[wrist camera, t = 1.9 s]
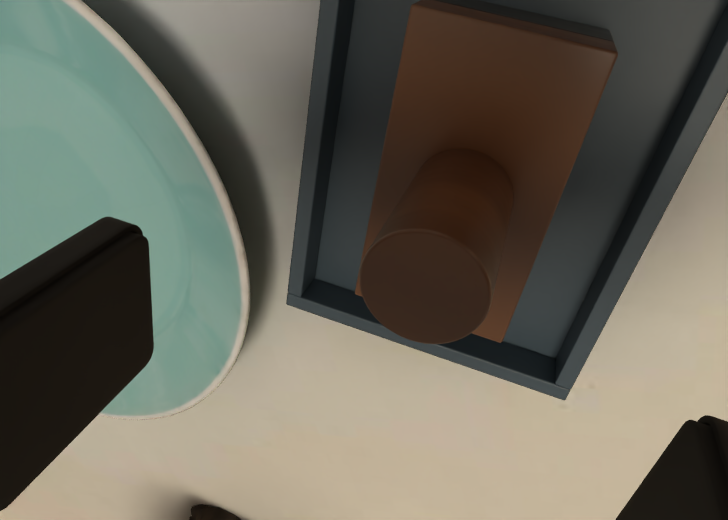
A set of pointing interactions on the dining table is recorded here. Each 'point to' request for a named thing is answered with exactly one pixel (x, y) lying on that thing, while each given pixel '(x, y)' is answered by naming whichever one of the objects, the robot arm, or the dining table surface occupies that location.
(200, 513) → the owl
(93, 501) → the dining table surface
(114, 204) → the plate
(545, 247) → the tray
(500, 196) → the rubber stamp
